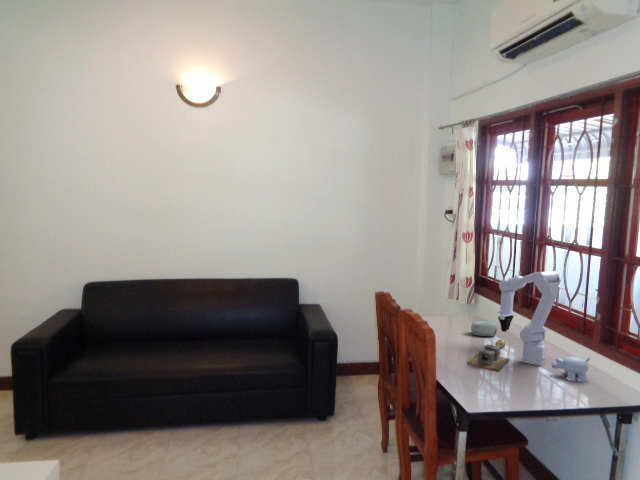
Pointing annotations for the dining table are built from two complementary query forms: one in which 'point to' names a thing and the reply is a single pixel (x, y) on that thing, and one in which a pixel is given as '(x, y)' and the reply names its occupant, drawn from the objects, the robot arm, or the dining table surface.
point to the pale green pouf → (484, 328)
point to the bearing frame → (489, 358)
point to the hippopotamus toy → (572, 367)
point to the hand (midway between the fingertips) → (505, 330)
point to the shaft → (500, 344)
